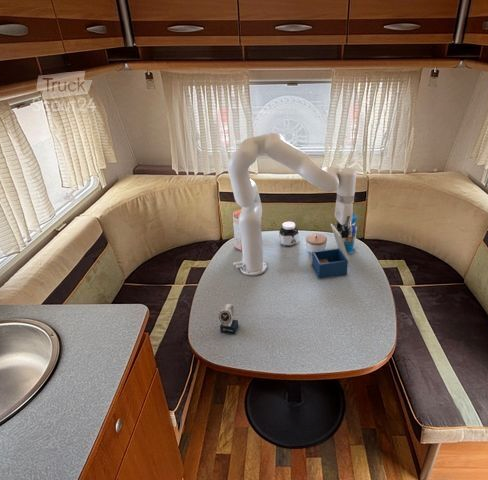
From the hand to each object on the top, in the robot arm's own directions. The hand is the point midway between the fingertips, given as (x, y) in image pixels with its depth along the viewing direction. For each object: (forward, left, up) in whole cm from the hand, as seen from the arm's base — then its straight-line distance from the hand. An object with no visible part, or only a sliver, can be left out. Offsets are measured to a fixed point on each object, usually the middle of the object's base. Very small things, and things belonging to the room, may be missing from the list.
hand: (342, 233), depth 162 cm
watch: (-55, -29, -19) cm, 65 cm away
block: (-8, 0, -18) cm, 20 cm away
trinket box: (-6, +18, -19) cm, 27 cm away
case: (-5, 0, -19) cm, 20 cm away
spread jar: (-17, +31, -19) cm, 40 cm away
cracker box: (-40, +33, -19) cm, 55 cm away
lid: (-1, 0, -4) cm, 4 cm away
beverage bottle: (+10, +15, -19) cm, 26 cm away
